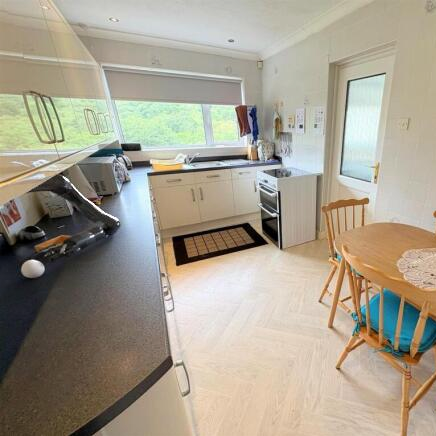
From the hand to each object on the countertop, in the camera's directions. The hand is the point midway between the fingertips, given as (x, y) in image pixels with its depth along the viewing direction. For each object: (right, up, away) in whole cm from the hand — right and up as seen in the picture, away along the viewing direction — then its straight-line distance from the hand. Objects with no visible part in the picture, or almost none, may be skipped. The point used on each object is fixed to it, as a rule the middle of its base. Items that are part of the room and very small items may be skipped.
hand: (41, 259), depth 94 cm
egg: (-1, -7, -1) cm, 7 cm away
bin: (-13, +2, +21) cm, 25 cm away
